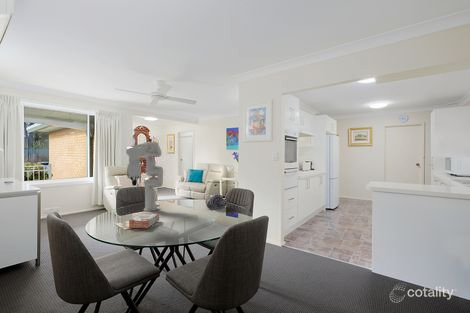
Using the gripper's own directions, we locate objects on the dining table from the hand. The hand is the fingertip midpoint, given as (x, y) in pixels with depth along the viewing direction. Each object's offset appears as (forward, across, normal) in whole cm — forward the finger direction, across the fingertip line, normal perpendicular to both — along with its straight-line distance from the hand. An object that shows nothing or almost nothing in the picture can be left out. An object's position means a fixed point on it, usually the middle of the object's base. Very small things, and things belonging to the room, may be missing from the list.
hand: (134, 185), depth 186 cm
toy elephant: (+30, -76, +14) cm, 83 cm away
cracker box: (+26, -11, +6) cm, 29 cm away
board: (+30, +2, +3) cm, 30 cm away
